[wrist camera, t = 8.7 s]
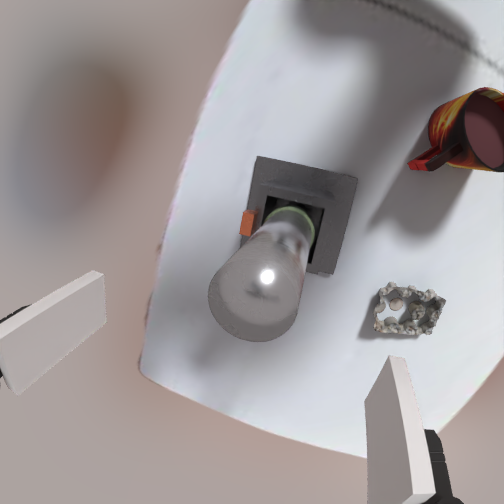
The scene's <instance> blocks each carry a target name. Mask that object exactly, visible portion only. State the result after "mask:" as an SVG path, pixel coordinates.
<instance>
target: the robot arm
mask: <svg viewBox="0 0 504 504" xmlns="http://www.w3.org/2000/svg"><path fill="white" fill-rule="evenodd" d="M104 281H105V280H104V274H102V273H99V272H96V271H94V270H92V271H90V272H89V273H87V274H85V275H83V276H81V277H79V278H78V279H76V280H74V281H72V282H70V283H69V284H67V285H65V286H63V287H62V288H60V289H58V290H56V291H54V292H53V293H51V294H49V295H48V296H46V297H44V298H42V299H41V300H39V301H37V302H35V303H34V304H31V305H28V306H24V307H21V308H20V309H18V310H16V311H15V312H13V314H10V315H8V316H7V317H6V318H3V319H2V320H0V378H1V377H2V376H3V378H4V380H5V382H6V385H7V387H8V388H9V389H11V390H12V391H13V392H14V393H15V394H16V395H17V396H18V395H20V394H21V393H22V392H23V391H24V390H25V389H27V388H28V387H29V386H30V385H31V384H33V383H34V382H35V381H36V380H37V379H39V378H40V377H41V376H42V375H43V374H44V373H45V372H47V371H48V370H49V369H50V368H52V367H53V366H54V365H55V364H56V363H58V362H59V361H60V360H61V359H62V358H64V357H65V356H66V355H67V354H68V353H70V352H71V351H72V350H73V349H75V347H77V346H78V345H80V344H81V343H82V342H83V341H84V340H86V339H87V338H88V337H89V336H91V335H92V334H93V333H94V332H96V331H97V330H98V329H99V328H101V327H102V326H103V325H104V324H106V323H107V319H106V305H105V304H106V303H105V282H104ZM364 402H365V417H366V435H367V463H368V501H367V504H464V503H463V502H462V501H461V500H460V499H458V498H455V497H453V495H452V490H451V485H450V480H449V475H448V470H447V465H446V463H445V456H444V454H443V448H442V443H441V440H440V438H439V437H438V436H437V434H436V433H435V431H434V430H426V429H424V428H423V424H422V419H421V415H420V411H419V407H418V403H417V400H416V396H415V392H414V388H413V385H412V381H411V378H410V374H409V371H408V368H407V364H406V361H405V358H400V357H395V356H390V355H389V356H388V358H387V360H386V362H385V364H384V366H383V368H382V370H381V372H380V374H379V376H378V378H377V380H376V381H375V383H374V385H373V387H372V389H371V391H370V392H369V394H368V396H367V398H366V399H365V401H364Z"/></svg>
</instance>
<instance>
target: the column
mask: <svg viewBox="0 0 504 504" xmlns="http://www.w3.org/2000/svg"><path fill="white" fill-rule="evenodd" d="M314 235H315V228H314V223H313V221H312V219H311V216H310V215H309V213H308V212H307V211H306V210H304V209H303V208H301V207H299V206H296V205H286V206H282V207H279V208H277V209H275V210H274V211H273V212H272V213H271V214H270V215H268V217H267V218H266V219H265V221H264V223H263V225H262V226H261V227H260V228H259V229H258V230H257V231H256V232H255V233H254V234H253V235H252V236H251V237H250V238H249V240H248V241H247V242H246V243H245V244H244V245H243V246H242V247H241V248H240V249H239V250H238V251H237V252H236V253H235V254H234V255H233V256H232V257H231V258H230V259H229V260H228V261H227V262H226V263H225V264H224V265H223V266H222V267H221V268H220V270H219V271H218V272H217V273H216V274H215V275H214V277H213V279H212V281H211V283H210V286H209V291H208V301H209V306H210V309H211V312H212V314H213V316H214V318H215V319H216V321H217V322H218V323H219V324H220V326H222V327H223V328H224V329H225V330H226V331H227V332H229V333H230V334H232V335H233V336H235V337H238V338H240V339H243V340H247V341H252V342H263V341H269V340H272V339H275V338H277V337H279V336H281V335H282V334H284V333H285V332H286V331H287V330H288V329H289V328H290V327H291V326H292V324H293V322H294V321H295V318H296V316H297V311H298V306H299V302H300V297H301V292H302V287H303V282H304V276H305V271H306V266H307V260H308V255H309V249H310V247H311V246H312V243H313V240H314Z"/></svg>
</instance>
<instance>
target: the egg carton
mask: <svg viewBox="0 0 504 504" xmlns="http://www.w3.org/2000/svg"><path fill="white" fill-rule="evenodd" d="M394 289H395V290H397V291H398V293H399V295H400V296H402V297H406V298H408V297H409V296H411V293H412V291H413V292H414V293H415V294H417V295H418V297H419V299H420V300H422V301H423V302H427V301H429V300H430V299H432V298H433V297H434V299H435V300H436V302H435V303H434V304H431V305H429V306H428V308H427V310H426V312H427V315H428V316H429V318H430V319H429V321H428V322H425V323H423V324H422V325H421V326H420V327H417V326H416V324H415V322H414V320H419V319H421V318H422V317H423V316H424V314H425V309H424V307H423V306H422V304H421V303H420V302H419V301H413V302H412V303H410V305H409V308H408V309H409V312H410V314H411V316H412V319H413V320H412V319H409V320H406V321H405V322H404V323H399V324H398V322H397V320H396V318H395V317H387V318H386V319H385V320H384V321H379V320H378V317H377V313H381V312H382V311H383V310H384V309H385V307H386V304H385V301H384V299H383V297H382V295H383V296H384V295H388V294H389V293H390V292H391V291H392V290H394ZM379 296H380V304H377V306H376V308H374V311H373V315H374V318H375V320H376V322H375V325H374V330H375V331H379V332H382V333H383V332H384V333H392V332H394V333H397V334H408V335H417V334H423V333H425V334H426V335H430V334H431V333H432V329H433V327H434V326H436V322H437V320H438V319H439V316H440V314H441V313H442V308H443V306H444V305H445V302H446V300H445V299H443V298H441V297H439V296H437V294H436V293H435V291H434V290H432V289H428V290H427V291H426V292H425V293H424V292H422V291H418V290H417V289H416V288H415V286H409V287H408V288H404V287H397V286H396V284H395V283H394V282H389V283H388V285H387V286H386V287H384V288H381V289H380V291H379ZM389 306H390V308H391V309H392V310H394V311H396V310H399V309H401V307H402V306H403V301H402V300H401V299H400V298H394V299H392V300H391V301H390V304H389Z"/></svg>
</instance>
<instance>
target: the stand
mask: <svg viewBox="0 0 504 504" xmlns="http://www.w3.org/2000/svg"><path fill="white" fill-rule="evenodd" d="M357 181H358V179H357V178H354V177H350V176H346V175H342V174H338V173H334V172H330V171H326V170H322V169H318V168H314V167H309V166H305V165H300V164H296V163H291V162H286V161H282V160H277V159H272V158H266V157H261V156H257V160H256V165H255V170H254V176H253V181H252V187H251V192H250V197H249V203H248V208H247V210H246V211H244V212H243V216H242V222H241V227H240V233H239V234H242V235H243V236H242V242H241V247H242V246H243V245H244V244H245V243H246V242H247V241H248V240H249V238H250V237H251V236H252V235H253V234H254V233H255V232H256V231H257V230H258V229H259V228H260V227H261V226H262V225H263V223H264V221H265V219H266V218H267V217H268V215H270V214H271V213H272V212H273V211H274V210H275V209H277V208H279V207H282V206H286V205H296V206H299V207H301V208H303V209H304V210H306V211H307V212H308V213H309V215H310V216H311V219H312V221H313V223H314V228H315V235H314V240H313V243H312V246H311V247H310V249H309V255H308V260H307V266H306V272H310V273H314V274H318V271H321V272H325V273H329V274H333V273H334V270H335V266H336V263H337V259H338V256H339V252H340V249H341V245H342V241H343V237H344V234H345V230H346V226H347V222H348V218H349V214H350V210H351V206H352V202H353V198H354V194H355V189H356V185H357ZM241 247H240V248H241Z"/></svg>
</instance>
